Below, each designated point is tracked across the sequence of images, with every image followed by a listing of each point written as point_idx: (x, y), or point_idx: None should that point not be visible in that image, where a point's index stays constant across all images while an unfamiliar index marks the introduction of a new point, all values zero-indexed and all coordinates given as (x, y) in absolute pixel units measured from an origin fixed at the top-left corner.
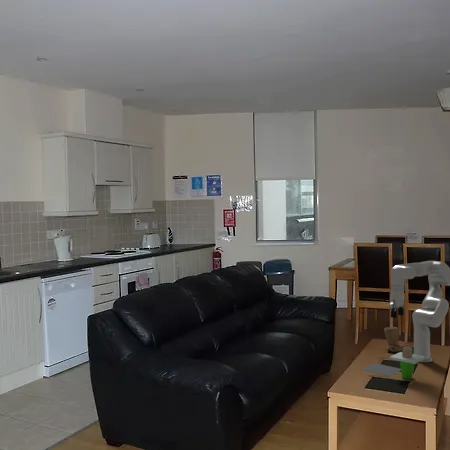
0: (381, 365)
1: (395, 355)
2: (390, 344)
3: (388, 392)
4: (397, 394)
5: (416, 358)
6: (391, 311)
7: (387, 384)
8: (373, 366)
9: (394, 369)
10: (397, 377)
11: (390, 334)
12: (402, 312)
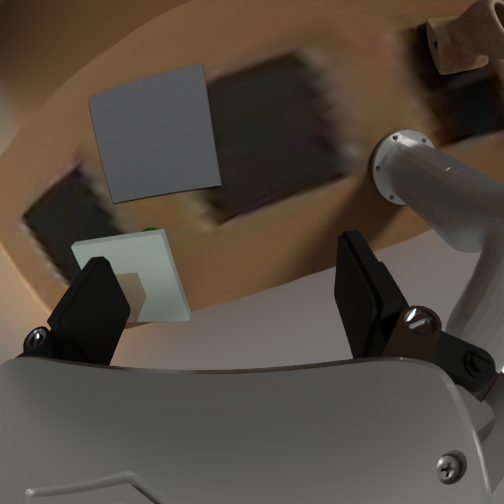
0: (193, 102)
1: (100, 250)
2: (451, 29)
3: (48, 265)
4: (58, 282)
5: (142, 313)
6: (58, 319)
7: (72, 235)
8: (155, 93)
9: (189, 166)
10: (136, 217)
11: (477, 26)
12: (344, 323)
